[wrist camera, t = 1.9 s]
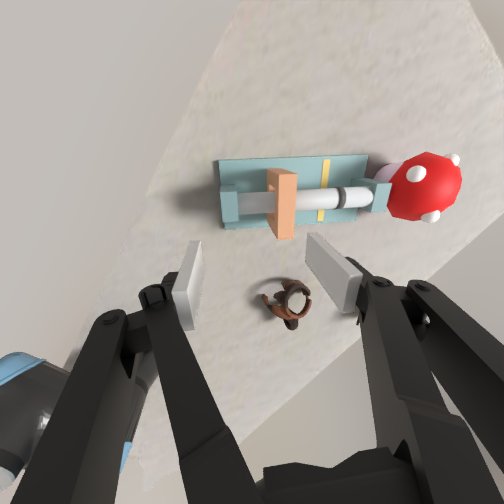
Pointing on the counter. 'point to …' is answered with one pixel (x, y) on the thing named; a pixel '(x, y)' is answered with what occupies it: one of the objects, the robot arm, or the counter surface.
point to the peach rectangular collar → (282, 202)
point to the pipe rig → (300, 190)
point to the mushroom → (422, 186)
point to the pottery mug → (282, 297)
